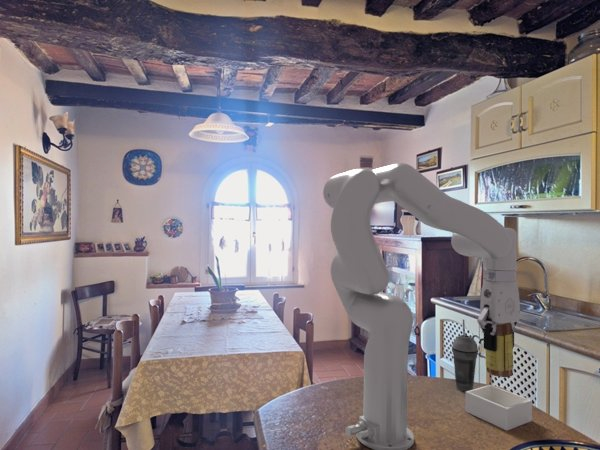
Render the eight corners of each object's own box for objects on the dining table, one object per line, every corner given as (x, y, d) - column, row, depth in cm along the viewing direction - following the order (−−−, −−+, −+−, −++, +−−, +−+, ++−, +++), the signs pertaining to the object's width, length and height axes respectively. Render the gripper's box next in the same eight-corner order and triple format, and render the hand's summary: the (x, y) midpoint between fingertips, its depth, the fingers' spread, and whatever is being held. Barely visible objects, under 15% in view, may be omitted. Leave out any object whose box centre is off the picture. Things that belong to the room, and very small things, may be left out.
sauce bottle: (506, 370, 103) (507, 293, 103) (517, 379, 97) (518, 297, 97) (480, 368, 103) (481, 292, 104) (489, 377, 97) (490, 296, 97)
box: (506, 430, 92) (506, 409, 92) (465, 411, 102) (465, 391, 102) (531, 420, 97) (532, 400, 98) (490, 403, 107) (490, 384, 107)
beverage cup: (457, 393, 113) (458, 323, 113) (447, 383, 120) (448, 317, 121) (482, 393, 113) (483, 323, 114) (470, 383, 121) (471, 317, 121)
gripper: (491, 280, 93) (491, 357, 92) (534, 276, 101) (533, 347, 101) (464, 276, 99) (463, 349, 99) (506, 273, 108) (505, 340, 108)
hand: (498, 347), depth 100 cm, fingers closed on sauce bottle, 6 cm apart
